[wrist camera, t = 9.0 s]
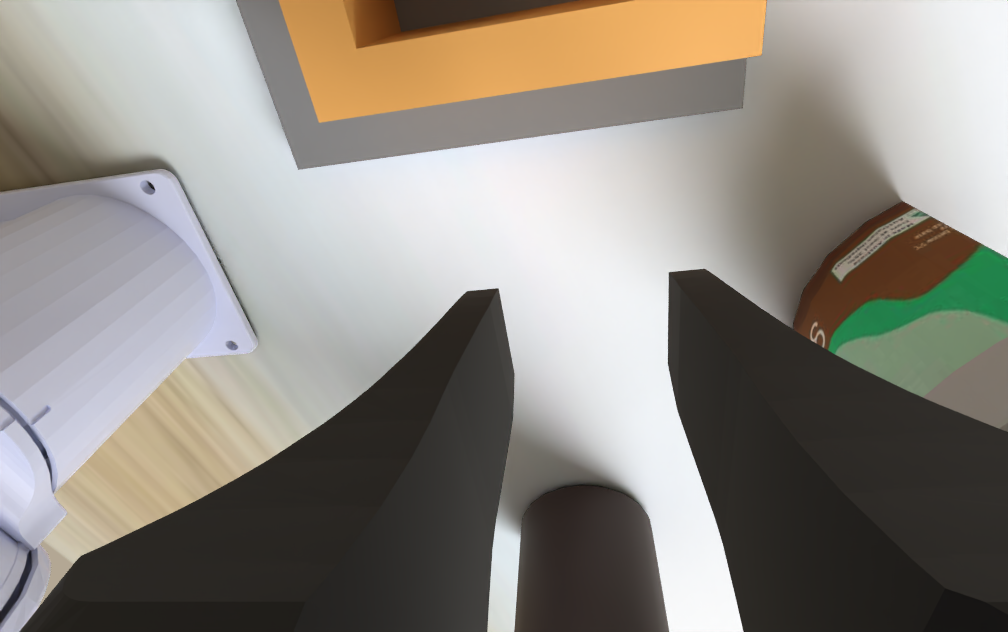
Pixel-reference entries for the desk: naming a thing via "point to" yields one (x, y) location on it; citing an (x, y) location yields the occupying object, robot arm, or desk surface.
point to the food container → (916, 311)
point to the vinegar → (588, 565)
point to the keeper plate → (476, 119)
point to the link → (504, 48)
